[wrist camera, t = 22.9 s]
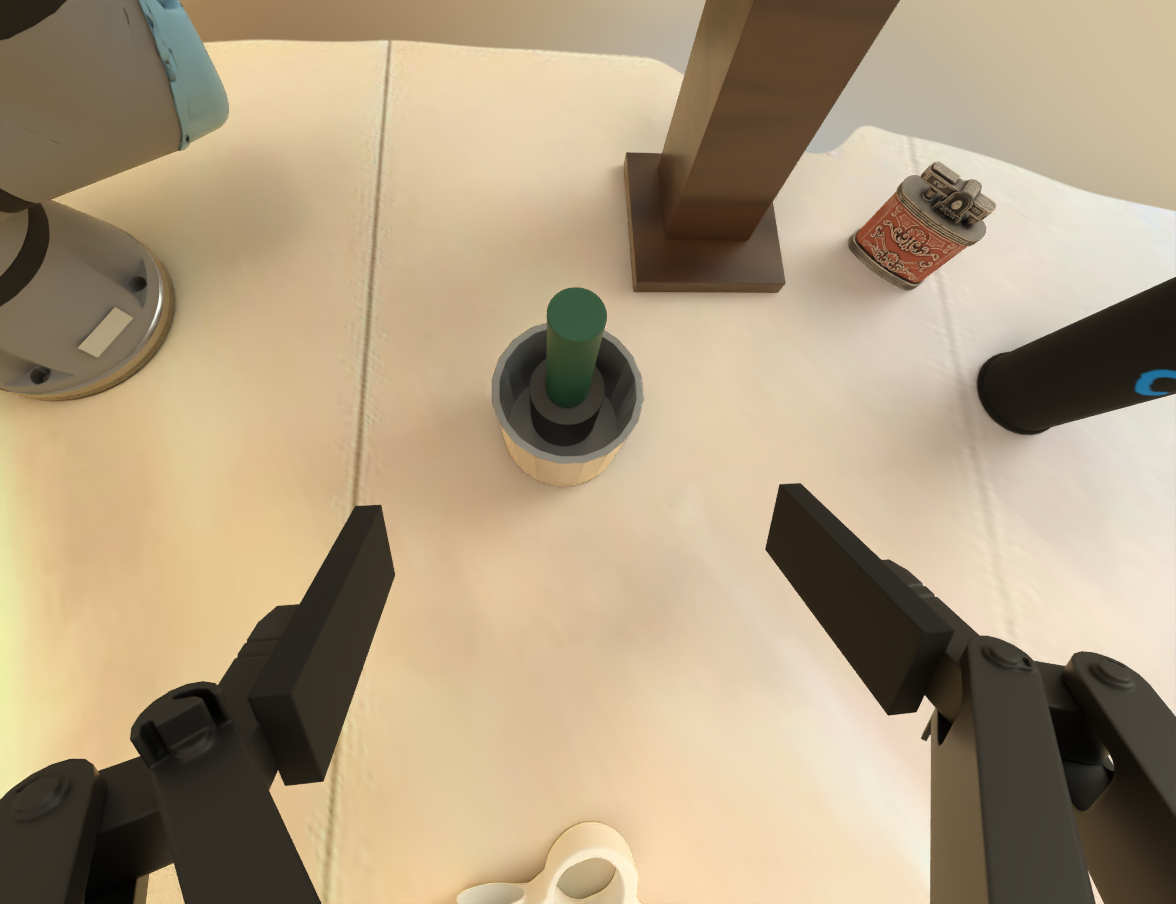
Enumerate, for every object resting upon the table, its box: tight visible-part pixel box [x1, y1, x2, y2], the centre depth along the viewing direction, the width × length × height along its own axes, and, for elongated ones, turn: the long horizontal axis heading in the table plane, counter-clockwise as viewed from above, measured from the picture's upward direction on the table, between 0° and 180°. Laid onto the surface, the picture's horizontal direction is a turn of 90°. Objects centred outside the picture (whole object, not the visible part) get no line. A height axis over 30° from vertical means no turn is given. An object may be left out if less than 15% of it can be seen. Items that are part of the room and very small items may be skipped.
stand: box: [624, 0, 900, 292], centre depth 32 cm, size 15×14×31 cm
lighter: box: [848, 162, 996, 290], centre depth 43 cm, size 8×3×10 cm, turn 51°
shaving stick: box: [529, 288, 607, 447], centre depth 32 cm, size 17×5×5 cm
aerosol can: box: [978, 277, 1176, 434], centre depth 36 cm, size 8×8×20 cm
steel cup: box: [492, 323, 644, 486], centre depth 36 cm, size 10×10×10 cm
